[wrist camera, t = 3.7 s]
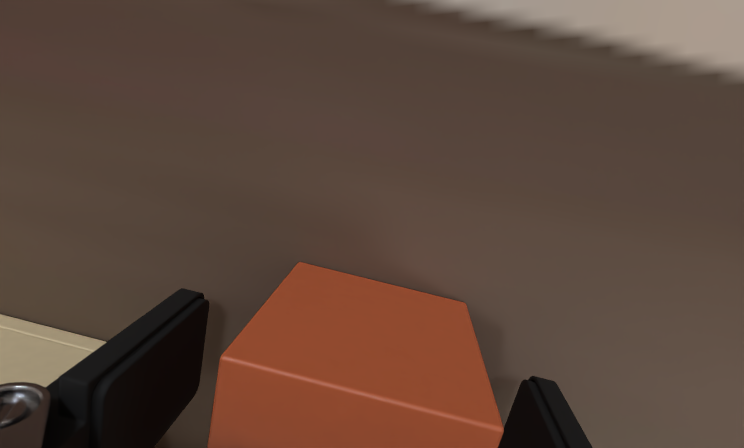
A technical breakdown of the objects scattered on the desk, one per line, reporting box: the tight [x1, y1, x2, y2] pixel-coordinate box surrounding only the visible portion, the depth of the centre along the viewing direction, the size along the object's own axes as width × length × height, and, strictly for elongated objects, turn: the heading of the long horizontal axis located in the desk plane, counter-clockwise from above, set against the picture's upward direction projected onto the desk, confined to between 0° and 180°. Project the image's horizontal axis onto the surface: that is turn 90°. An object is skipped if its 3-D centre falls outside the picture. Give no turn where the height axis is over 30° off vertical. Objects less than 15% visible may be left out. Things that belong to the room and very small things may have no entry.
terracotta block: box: [207, 262, 504, 448], centre depth 10 cm, size 5×5×5 cm
